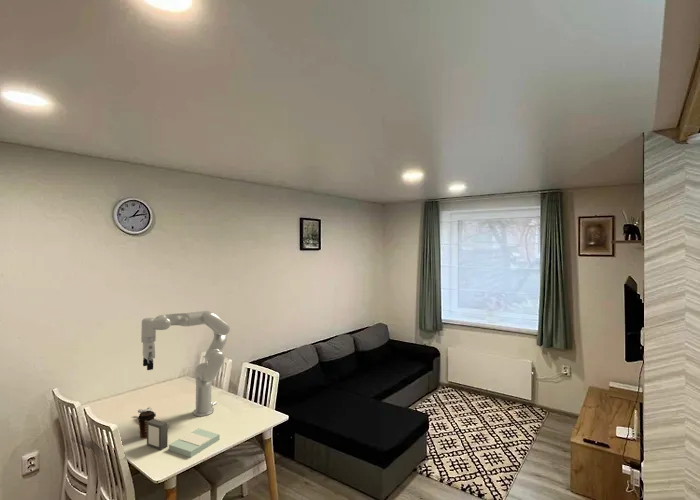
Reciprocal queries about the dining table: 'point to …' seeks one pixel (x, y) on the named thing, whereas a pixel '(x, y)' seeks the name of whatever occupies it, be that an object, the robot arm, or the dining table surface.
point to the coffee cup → (144, 422)
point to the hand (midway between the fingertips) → (148, 367)
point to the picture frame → (157, 434)
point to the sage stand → (194, 442)
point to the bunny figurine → (145, 410)
